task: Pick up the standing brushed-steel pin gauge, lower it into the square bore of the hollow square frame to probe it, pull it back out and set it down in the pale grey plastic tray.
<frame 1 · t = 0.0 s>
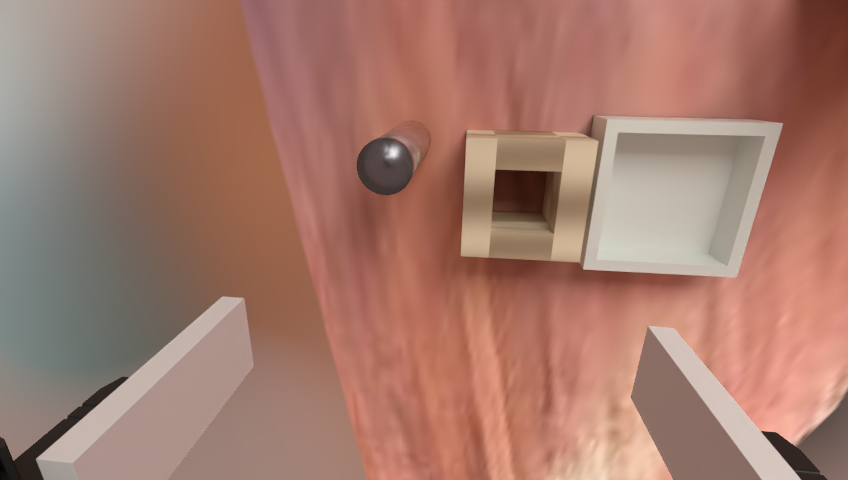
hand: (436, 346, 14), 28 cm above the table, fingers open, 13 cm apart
tray: (655, 190, 39), on the table
hollow square frame: (517, 185, 40), on the table
pin gauge: (412, 139, 39), on the table
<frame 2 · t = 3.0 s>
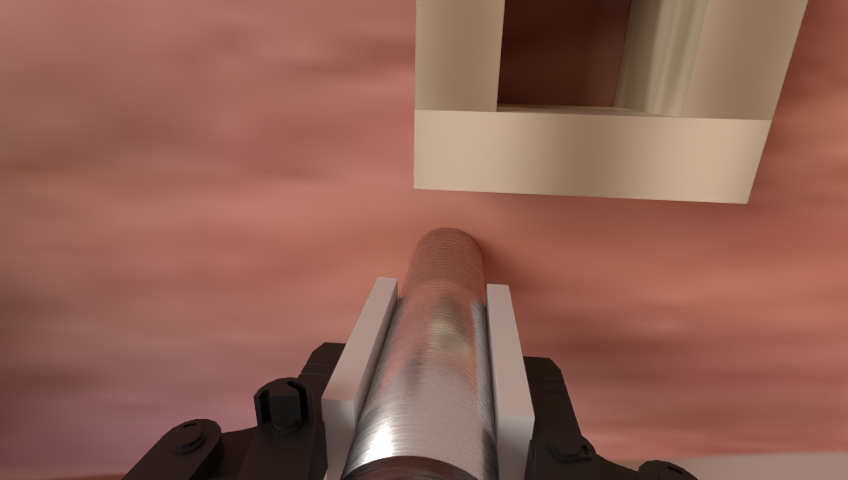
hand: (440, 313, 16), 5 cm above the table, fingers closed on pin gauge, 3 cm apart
hollow square frame: (557, 36, 17), on the table
pin gauge: (447, 260, 21), on the table, touching gripper
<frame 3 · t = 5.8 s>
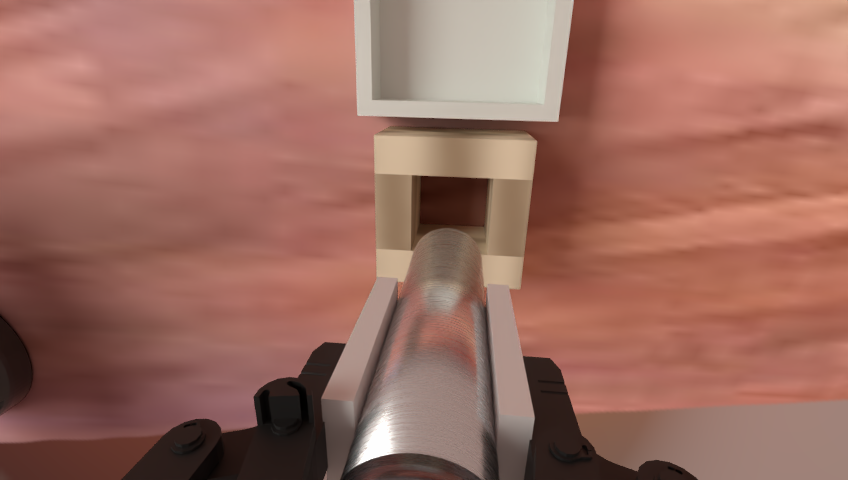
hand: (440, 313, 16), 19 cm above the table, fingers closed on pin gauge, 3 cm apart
tray: (461, 15, 29), on the table
hollow square frame: (453, 193, 33), on the table
pin gauge: (447, 260, 21), point 13 cm above the table, touching gripper
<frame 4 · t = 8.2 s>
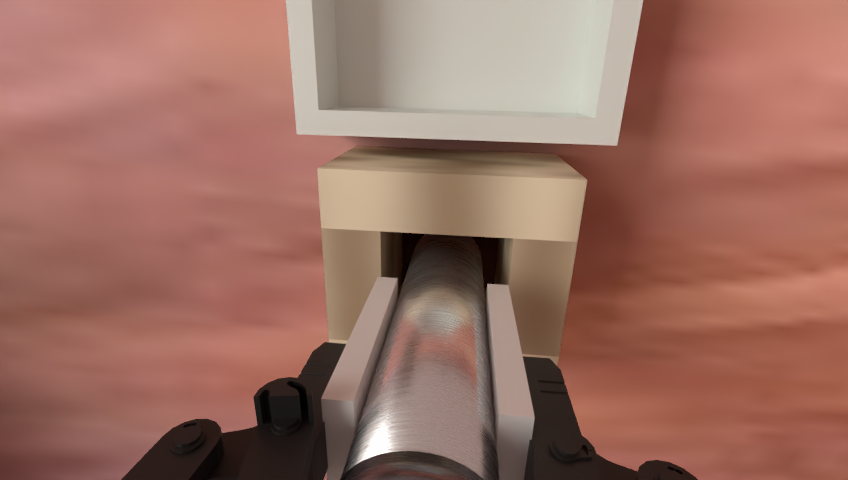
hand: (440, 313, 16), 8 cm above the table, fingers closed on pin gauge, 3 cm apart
hollow square frame: (449, 242, 23), on the table
pin gauge: (447, 260, 21), point 2 cm above the table, touching gripper
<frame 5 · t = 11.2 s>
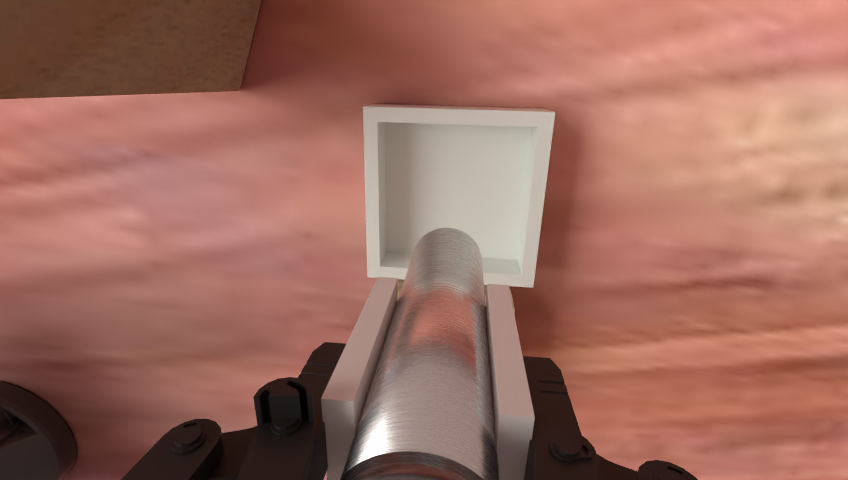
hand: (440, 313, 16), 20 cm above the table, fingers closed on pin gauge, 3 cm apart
wooden block: (196, 0, 32), on the table
tray: (454, 189, 35), on the table
pin gauge: (447, 260, 21), point 15 cm above the table, touching gripper
when the fingers open (7 cm above the table, at t = 13.6 s): pin gauge stays where it is, resting on tray.
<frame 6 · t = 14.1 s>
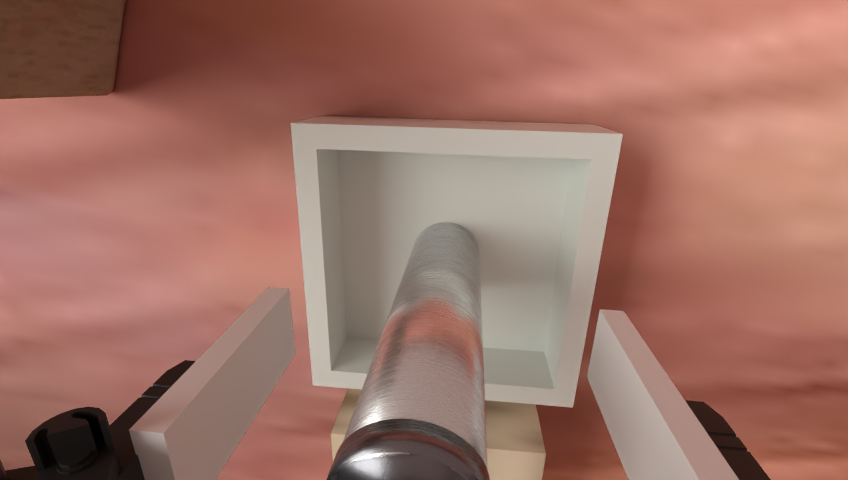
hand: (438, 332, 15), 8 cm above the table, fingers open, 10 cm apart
tray: (448, 246, 23), on the table
hollow square frame: (440, 428, 27), on the table
pin gauge: (445, 253, 22), point 1 cm above the table, touching tray
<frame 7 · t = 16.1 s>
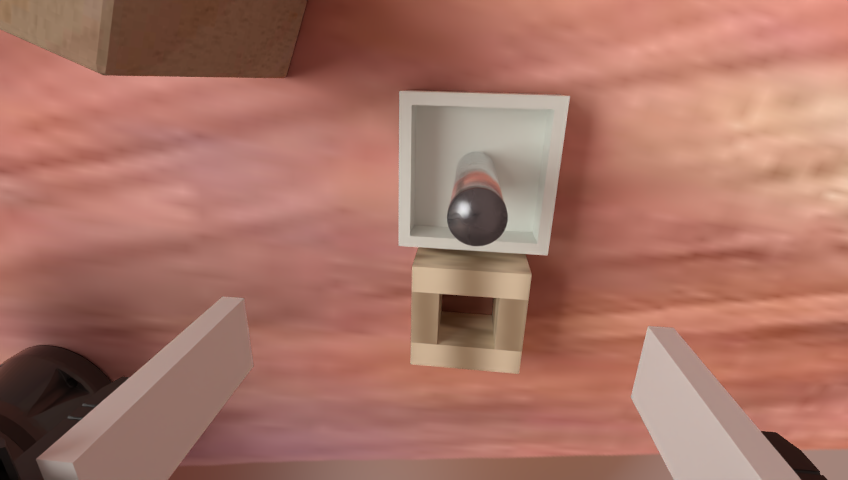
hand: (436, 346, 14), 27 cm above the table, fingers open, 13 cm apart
tray: (476, 167, 38), on the table
hollow square frame: (468, 290, 43), on the table
pin gauge: (475, 170, 38), point 1 cm above the table, touching tray
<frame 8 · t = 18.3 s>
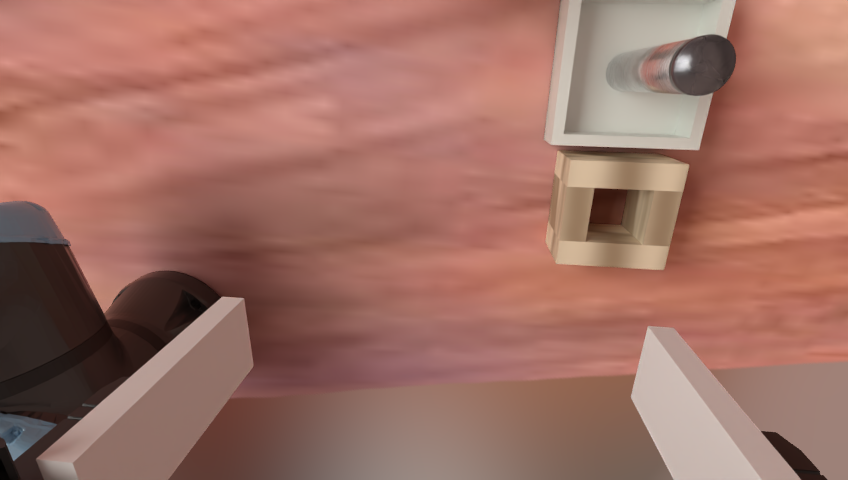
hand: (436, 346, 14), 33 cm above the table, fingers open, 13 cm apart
tray: (622, 71, 40), on the table
hollow square frame: (600, 200, 44), on the table
pin gauge: (624, 71, 39), point 1 cm above the table, touching tray
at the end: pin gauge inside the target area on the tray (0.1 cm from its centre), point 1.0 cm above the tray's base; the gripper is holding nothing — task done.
